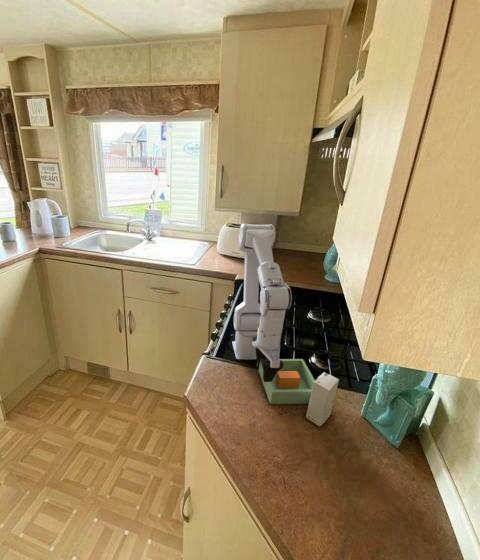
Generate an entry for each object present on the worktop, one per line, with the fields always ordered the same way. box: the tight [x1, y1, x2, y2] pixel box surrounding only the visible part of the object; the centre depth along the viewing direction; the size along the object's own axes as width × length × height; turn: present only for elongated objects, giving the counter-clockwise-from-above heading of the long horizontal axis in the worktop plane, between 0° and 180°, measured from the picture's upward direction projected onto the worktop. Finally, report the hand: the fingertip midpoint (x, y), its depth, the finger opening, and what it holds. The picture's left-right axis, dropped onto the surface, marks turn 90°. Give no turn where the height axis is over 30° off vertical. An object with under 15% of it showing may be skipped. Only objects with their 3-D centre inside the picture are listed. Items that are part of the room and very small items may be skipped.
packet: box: [276, 371, 300, 389], centre depth 92 cm, size 3×6×4 cm, turn 93°
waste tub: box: [258, 358, 316, 405], centre depth 93 cm, size 14×14×4 cm
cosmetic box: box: [305, 371, 340, 427], centre depth 81 cm, size 6×4×12 cm
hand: (263, 370), depth 85 cm, fingers open, 7 cm apart
